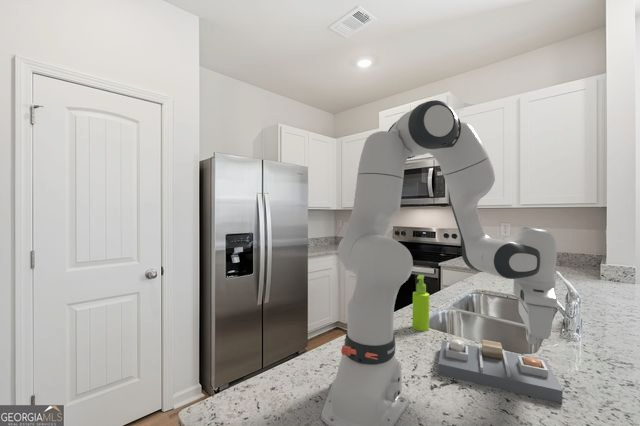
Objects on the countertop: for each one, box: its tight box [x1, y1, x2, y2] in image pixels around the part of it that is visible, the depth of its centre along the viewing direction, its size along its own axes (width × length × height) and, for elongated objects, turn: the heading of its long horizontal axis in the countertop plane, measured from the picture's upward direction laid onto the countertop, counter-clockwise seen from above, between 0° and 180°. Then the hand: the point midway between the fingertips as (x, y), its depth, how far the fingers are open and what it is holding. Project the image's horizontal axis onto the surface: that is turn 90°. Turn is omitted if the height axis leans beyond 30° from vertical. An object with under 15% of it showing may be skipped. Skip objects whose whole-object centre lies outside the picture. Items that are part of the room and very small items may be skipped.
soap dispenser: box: [411, 274, 430, 332], centre depth 112 cm, size 6×7×20 cm
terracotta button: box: [524, 356, 541, 368], centre depth 79 cm, size 4×4×2 cm
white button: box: [450, 338, 465, 352], centre depth 87 cm, size 4×4×2 cm
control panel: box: [437, 339, 563, 404], centre depth 83 cm, size 16×27×5 cm, turn 64°
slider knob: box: [481, 339, 503, 359], centre depth 86 cm, size 4×5×3 cm
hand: (531, 342), depth 78 cm, fingers closed
